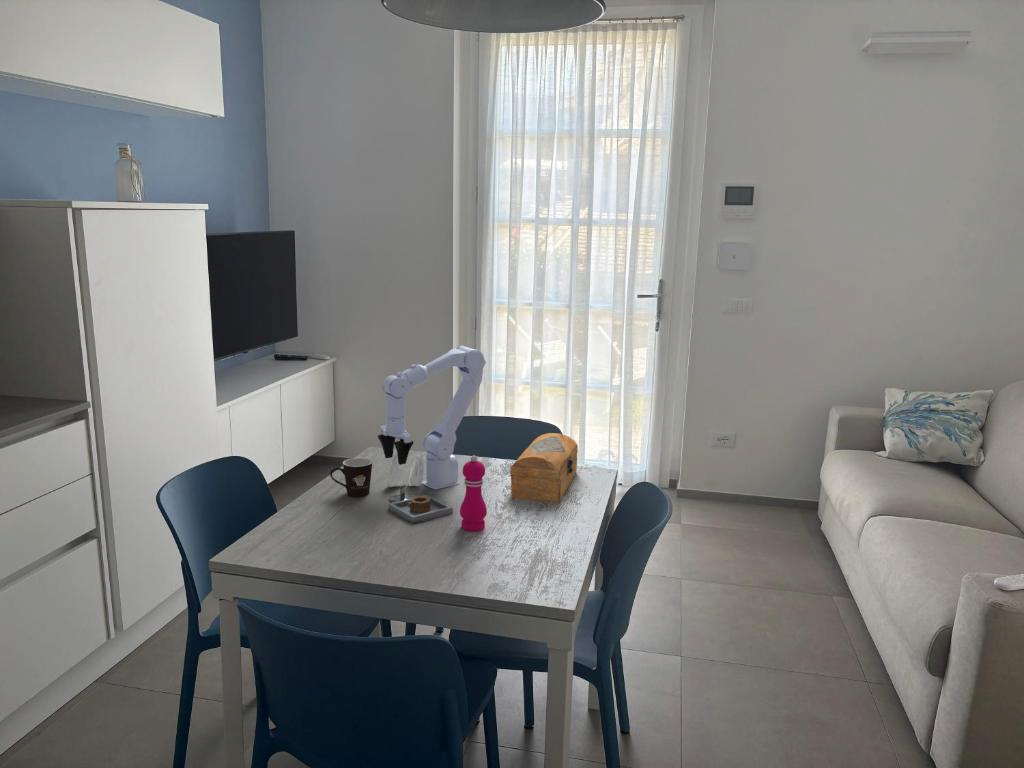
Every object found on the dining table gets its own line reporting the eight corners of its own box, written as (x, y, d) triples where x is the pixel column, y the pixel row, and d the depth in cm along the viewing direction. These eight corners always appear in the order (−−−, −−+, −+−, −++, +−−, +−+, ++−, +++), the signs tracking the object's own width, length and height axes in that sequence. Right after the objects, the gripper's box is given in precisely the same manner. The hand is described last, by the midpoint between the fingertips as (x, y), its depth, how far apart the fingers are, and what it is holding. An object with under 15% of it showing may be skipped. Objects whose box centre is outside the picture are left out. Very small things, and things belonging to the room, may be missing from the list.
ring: (403, 509, 222) (403, 499, 221) (426, 504, 226) (426, 494, 226) (414, 515, 217) (414, 505, 217) (436, 509, 222) (437, 499, 222)
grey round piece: (406, 493, 236) (406, 479, 236) (421, 501, 230) (421, 486, 230) (383, 499, 231) (383, 484, 231) (398, 506, 225) (397, 491, 224)
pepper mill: (490, 524, 214) (491, 453, 210) (480, 534, 207) (481, 460, 203) (465, 520, 216) (466, 450, 212) (455, 530, 209) (456, 457, 206)
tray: (426, 500, 231) (426, 494, 231) (452, 513, 221) (452, 507, 221) (388, 509, 223) (388, 503, 222) (413, 523, 213) (413, 517, 213)
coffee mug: (376, 490, 239) (375, 458, 237) (368, 500, 230) (367, 467, 228) (338, 488, 240) (338, 456, 238) (329, 497, 231) (328, 465, 229)
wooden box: (562, 505, 230) (564, 460, 227) (508, 499, 234) (509, 454, 232) (581, 475, 258) (583, 434, 256) (532, 470, 263) (533, 429, 260)
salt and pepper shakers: (388, 491, 238) (387, 456, 236) (384, 487, 242) (383, 452, 240) (425, 486, 243) (425, 451, 241) (421, 482, 247) (421, 448, 245)
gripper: (370, 413, 236) (371, 457, 238) (396, 423, 225) (396, 469, 228) (391, 410, 240) (391, 453, 243) (417, 419, 229) (417, 464, 232)
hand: (395, 460), depth 235 cm, fingers open, 7 cm apart
